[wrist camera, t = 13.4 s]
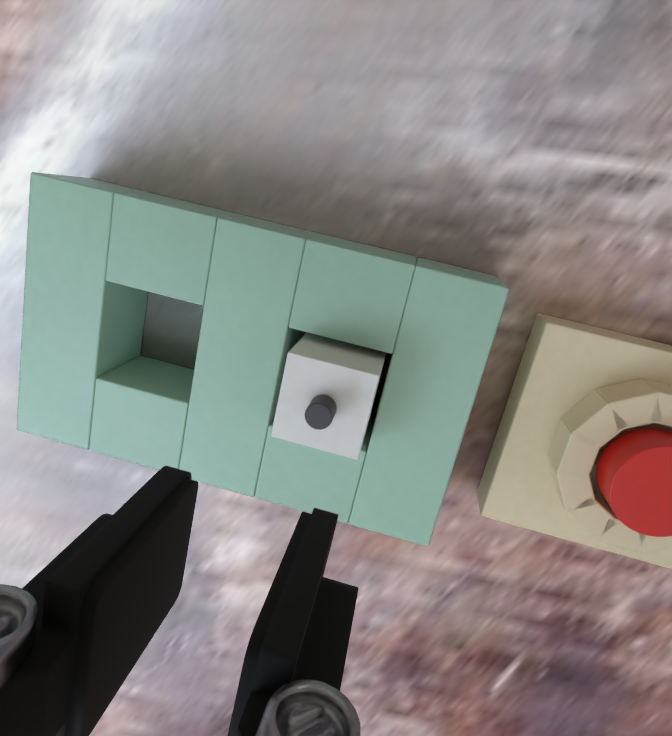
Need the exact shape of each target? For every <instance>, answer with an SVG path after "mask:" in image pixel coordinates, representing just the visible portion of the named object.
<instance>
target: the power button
mask: <svg viewBox="0 0 672 736" xmlns="http://www.w3.org/2000/svg"><path fill="white" fill-rule="evenodd" d="M596 478H597V483H598V486H599V489H600V491H601V493H602V494H603V496H604V497H605V499H606V501H607V502H608V504H609V505H610V507H611V508H612V510H613V512H614V513H615V515H616V516H617V518H618V519H619V520H620V521H621V522H622V523H623V524H624V525H625V526H627V527H628V528H630V529H631V530H634V531H636V532H638V533H641V534H644V535H648V536H654V537H668V536H672V433H671V432H669V431H666V430H662V429H655V428H644V429H637V430H633V431H630V432H628V433H625V434H623V435H621V436H619V437H618V438H616V439H615V440H613V441H612V442H611V443H610V444H609V445H608V446H607V447H606V448H605V450H604V451H603V453H602V454H601V456H600V458H599V461H598V464H597V469H596Z"/></svg>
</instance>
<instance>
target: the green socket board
mask: <svg viewBox="0 0 672 736" xmlns="http://www.w3.org/2000/svg"><path fill="white" fill-rule="evenodd" d="M509 290H510V289H509V287H508V286H506V285H505V284H504V283H503V282H502V281H501V280H500V279H499V278H498V277H496V276H495V275H490V274H486V273H482V272H478V271H474V270H470V269H465V268H461V267H457V266H453V265H449V264H445V263H440V262H436V261H432V260H428V259H424V258H417V257H416V256H411V255H407V254H403V253H399V252H395V251H391V250H386V249H382V248H378V247H374V246H370V245H366V244H361V243H357V242H353V241H349V240H345V239H341V238H336V237H332V236H328V235H323V234H320V233H316V232H311V231H307V230H303V229H299V228H295V227H291V226H286V225H282V224H278V223H274V222H270V221H266V220H261V219H257V218H253V217H247V216H245V215H241V214H236V213H232V212H228V211H224V210H220V209H216V208H211V207H207V206H203V205H199V204H195V203H191V202H186V201H182V200H178V199H174V198H170V197H166V196H161V195H157V194H153V193H149V192H145V191H141V190H136V189H132V188H128V187H124V186H120V185H116V184H111V183H107V182H103V181H99V180H95V179H91V178H82V177H73V176H63V175H53V174H44V173H34V172H33V173H31V180H30V198H29V216H28V234H27V252H26V270H25V288H24V306H23V324H22V342H21V360H20V378H19V396H18V414H17V430H19V431H23V432H26V433H30V434H34V435H37V436H41V437H44V438H48V439H51V440H55V441H58V442H62V443H65V444H69V445H72V446H76V447H79V448H83V449H86V450H90V451H93V452H97V453H100V454H104V455H107V456H111V457H114V458H118V459H121V460H125V461H128V462H132V463H135V464H139V465H142V466H146V467H149V468H153V469H156V470H160V469H161V468H162V467H164V466H170V467H173V468H177V469H180V470H184V471H187V472H190V473H191V476H192V480H195V481H198V482H202V483H205V484H209V485H212V486H216V487H219V488H223V489H226V490H230V491H233V492H237V493H240V494H244V495H247V496H251V497H254V495H255V497H256V498H258V499H262V500H265V501H269V502H273V503H276V504H280V505H283V506H287V507H290V508H294V509H297V510H301V511H304V512H308V513H311V514H312V511H313V509H314V508H318V509H321V510H325V511H328V512H332V513H335V514H339V515H338V519H337V521H339V522H343V523H348V522H349V524H350V525H353V526H357V527H360V528H364V529H367V530H371V531H374V532H378V533H381V534H385V535H388V536H392V537H395V538H399V539H402V540H406V541H409V542H413V543H416V544H420V545H423V546H428V545H429V543H430V540H431V537H432V534H433V530H434V527H435V524H436V521H437V518H438V515H439V511H440V508H441V505H442V502H443V499H444V496H445V492H446V489H447V486H448V483H449V480H450V477H451V473H452V470H453V467H454V464H455V461H456V458H457V455H458V451H459V448H460V445H461V442H462V439H463V436H464V432H465V429H466V426H467V423H468V420H469V417H470V413H471V410H472V407H473V404H474V401H475V398H476V395H477V391H478V388H479V385H480V382H481V379H482V376H483V372H484V369H485V366H486V363H487V360H488V357H489V353H490V350H491V347H492V344H493V341H494V338H495V334H496V331H497V328H498V325H499V322H500V319H501V316H502V312H503V309H504V306H505V303H506V300H507V297H508V293H509ZM148 292H151V293H155V294H159V295H163V296H167V297H171V298H175V299H179V300H183V301H187V302H191V303H194V304H198V305H204V309H203V316H202V322H201V329H200V336H199V342H198V349H197V355H196V362H195V368H194V370H193V369H190V368H186V367H182V366H178V365H175V364H171V363H167V362H163V361H160V360H156V359H152V358H148V357H145V356H140V353H141V345H142V337H143V329H144V320H145V312H146V304H147V296H148ZM303 332H308V333H311V334H315V335H319V336H323V337H327V338H331V339H335V340H339V341H343V342H347V343H350V344H354V345H358V346H362V347H366V348H370V349H374V350H378V351H382V352H386V353H390V354H392V356H391V360H390V364H389V368H388V371H387V375H386V379H385V383H384V387H383V391H382V394H381V398H380V402H379V406H378V410H377V413H376V417H375V419H374V418H373V417H370V419H369V422H368V426H367V430H366V433H365V437H364V440H363V444H362V448H361V451H360V455H359V459H358V460H356V459H352V458H348V457H345V456H341V455H337V454H334V453H330V452H326V451H323V450H319V449H315V448H312V447H308V446H305V445H301V444H297V443H294V442H290V441H286V440H283V439H279V438H275V437H272V436H271V432H272V427H273V423H274V418H275V413H276V408H277V403H278V398H279V393H280V388H281V383H282V378H283V373H284V368H285V364H286V359H287V354H288V352H289V351H290V350H291V349H292V348H293V347H294V346H295V345H296V344H297V343H298V342H299V340H300V339H301V338H302V337H303Z"/></svg>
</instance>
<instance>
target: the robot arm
mask: <svg viewBox="0 0 672 736" xmlns="http://www.w3.org/2000/svg"><path fill="white" fill-rule="evenodd" d="M197 491H198V482H197V481H194V480H192V476H191V473H190V472H187V471H184V470H180V469H177V468H173V467H170V466H164V467H162V468H161V469H160V470H159V471H158V472H157V473H156V474H155V475H154V476H153V477H152V478H151V479H150V480H149V481H148V482H147V483H146V484H145V485H144V486H143V487H142V488H141V489H139V490H138V491H137V492H136V493H135V494H134V495H133V496H132V497H131V498H130V499H129V500H128V501H127V502H126V503H125V504H124V505H123V506H122V507H121V508H120V509H119V510H118V511H117V512H116V513H115V514H114V515H110V514H103V515H102V516H100V517H99V518H98V519H97V520H95V521H94V522H93V523H92V524H91V525H90V526H89V527H88V528H87V529H86V530H85V531H84V532H83V533H81V534H80V535H79V536H78V537H77V538H76V539H75V540H74V541H73V542H72V543H71V544H70V545H69V546H67V547H66V548H65V549H64V550H63V551H62V552H61V553H60V554H59V555H58V556H57V557H56V558H55V559H54V560H52V561H51V562H50V563H49V564H48V565H47V566H46V567H45V568H44V569H43V570H42V571H41V572H40V573H38V574H37V575H36V576H35V577H34V578H33V579H32V580H31V581H30V582H29V583H28V584H27V585H26V586H24V587H23V588H22V589H21V588H18V587H16V586H9V585H3V584H1V585H0V736H89V735H90V733H91V732H92V730H93V729H94V727H95V725H96V724H97V722H98V721H99V719H100V718H101V716H102V715H103V713H104V712H105V710H106V708H107V707H108V705H109V704H110V702H111V701H112V699H113V698H114V696H115V694H116V693H117V691H118V690H119V688H120V687H121V685H122V684H123V682H124V681H125V679H126V677H127V676H128V674H129V673H130V671H131V670H132V668H133V667H134V665H135V663H136V662H137V660H138V659H139V657H140V656H141V654H142V653H143V651H144V650H145V648H146V646H147V645H148V643H149V642H150V640H151V639H152V637H153V636H154V634H155V632H156V631H157V629H158V628H159V626H160V625H161V623H162V622H163V620H164V619H165V617H166V615H167V614H168V612H169V611H170V609H171V608H172V606H173V605H174V603H175V601H176V599H177V597H178V595H179V592H180V589H181V586H182V581H183V575H184V569H185V563H186V557H187V551H188V545H189V539H190V533H191V527H192V521H193V515H194V509H195V503H196V497H197ZM338 515H339V514H335V513H332V512H328V511H325V510H321V509H318V508H314V509H313V511H312V514H310V513H306V512H302V514H301V516H300V518H299V521H298V523H297V526H296V528H295V530H294V533H293V535H292V538H291V540H290V542H289V545H288V547H287V550H286V552H285V555H284V557H283V559H282V562H281V564H280V567H279V569H278V571H277V574H276V576H275V579H274V581H273V583H272V586H271V588H270V591H269V593H268V596H267V598H266V600H265V603H264V605H263V608H262V610H261V612H260V615H259V617H258V620H257V622H256V624H255V627H254V629H253V632H252V635H251V638H250V641H249V644H248V647H247V651H246V654H245V658H244V663H243V667H242V672H241V677H240V681H239V686H238V690H237V695H236V700H235V704H234V709H233V713H232V718H231V723H230V727H229V732H228V736H360V721H359V718H358V715H357V712H356V710H355V708H354V707H353V705H352V704H351V702H350V701H349V699H348V698H347V697H346V696H345V695H343V694H342V693H341V692H340V687H341V682H342V676H343V671H344V665H345V660H346V654H347V648H348V643H349V637H350V632H351V626H352V621H353V615H354V610H355V604H356V599H357V593H358V587H355V586H351V585H348V584H345V583H341V582H338V581H334V580H331V579H328V578H324V577H323V574H324V570H325V566H326V563H327V559H328V555H329V551H330V547H331V543H332V539H333V535H334V531H335V527H336V523H337V519H338Z"/></svg>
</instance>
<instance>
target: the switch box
mask: <svg viewBox="0 0 672 736" xmlns="http://www.w3.org/2000/svg"><path fill="white" fill-rule="evenodd" d="M644 428H655V429H662V430H666V431H669V432H671V433H672V345H667V344H663V343H659V342H655V341H651V340H647V339H643V338H639V337H635V336H631V335H627V334H622V333H618V332H614V331H610V330H606V329H602V328H598V327H594V326H590V325H586V324H582V323H577V322H573V321H569V320H565V319H561V318H557V317H553V316H549V315H545V314H541V313H537V315H536V317H535V320H534V323H533V326H532V329H531V332H530V335H529V338H528V341H527V344H526V347H525V350H524V353H523V356H522V359H521V362H520V365H519V368H518V371H517V374H516V377H515V380H514V383H513V386H512V389H511V392H510V395H509V398H508V401H507V404H506V407H505V410H504V413H503V416H502V419H501V422H500V425H499V428H498V430H497V433H496V436H495V439H494V442H493V445H492V448H491V451H490V454H489V457H488V460H487V463H486V466H485V469H484V472H483V475H482V478H481V481H480V484H479V487H478V490H477V496H478V502H479V507H480V513H481V516H483V517H486V518H490V519H494V520H497V521H501V522H504V523H508V524H512V525H515V526H519V527H522V528H526V529H530V530H533V531H537V532H540V533H544V534H548V535H551V536H555V537H558V538H562V539H566V540H569V541H573V542H576V543H580V544H584V545H587V546H591V547H594V548H598V549H602V550H605V551H609V552H612V553H616V554H620V555H623V556H627V557H630V558H634V559H638V560H641V561H645V562H648V563H652V564H656V565H659V566H663V567H666V568H670V569H672V536H668V537H654V536H648V535H644V534H641V533H638V532H636V531H634V530H631V529H630V528H628V527H627V526H625V525H624V524H623V523H622V522H621V521H620V520H619V519H618V518H617V516H616V515H615V513H614V512H613V510H612V508H611V507H610V505H609V504H608V502H607V501H606V499H605V497H604V496H603V494H602V493H601V491H600V489H599V486H598V483H597V478H596V469H597V464H598V461H599V458H600V456H601V454H602V453H603V451H604V450H605V448H606V447H607V446H608V445H609V444H610V443H611V442H612V441H613V440H615V439H616V438H618V437H619V436H621V435H623V434H625V433H628V432H630V431H633V430H637V429H644Z"/></svg>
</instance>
